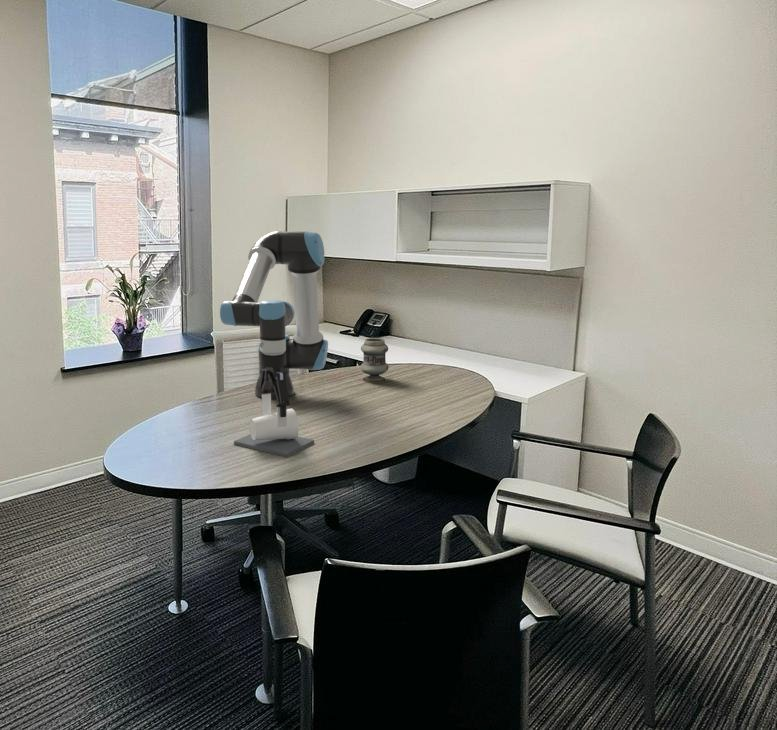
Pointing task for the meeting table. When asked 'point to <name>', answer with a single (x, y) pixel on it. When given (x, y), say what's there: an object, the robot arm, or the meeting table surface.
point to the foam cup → (274, 427)
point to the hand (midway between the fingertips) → (274, 420)
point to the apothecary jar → (374, 359)
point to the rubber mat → (275, 445)
